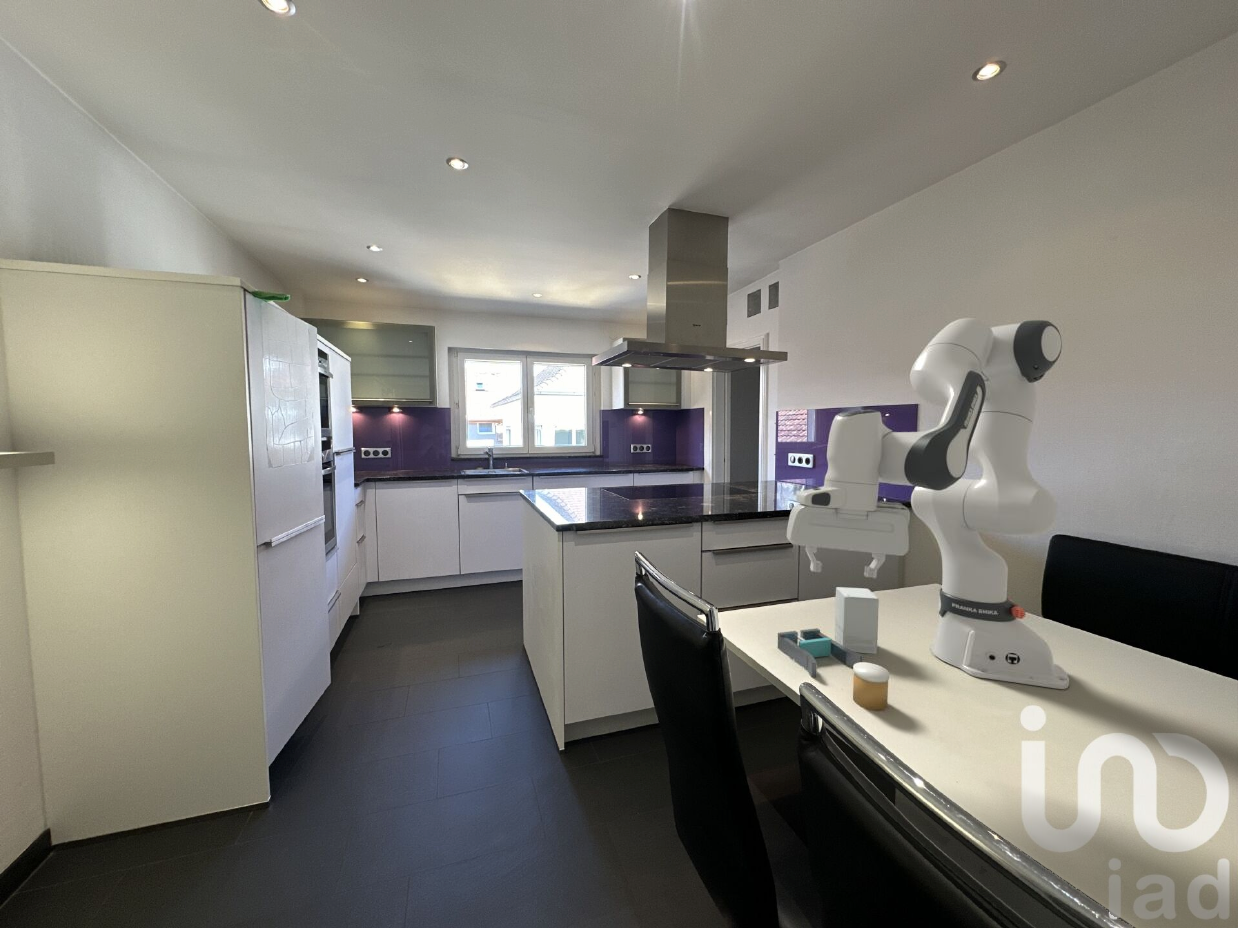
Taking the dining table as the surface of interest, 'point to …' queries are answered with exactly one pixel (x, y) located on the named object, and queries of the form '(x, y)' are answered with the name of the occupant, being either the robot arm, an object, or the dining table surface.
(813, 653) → the teal open box
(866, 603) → the supplement box
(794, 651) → the lane
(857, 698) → the amber jar
